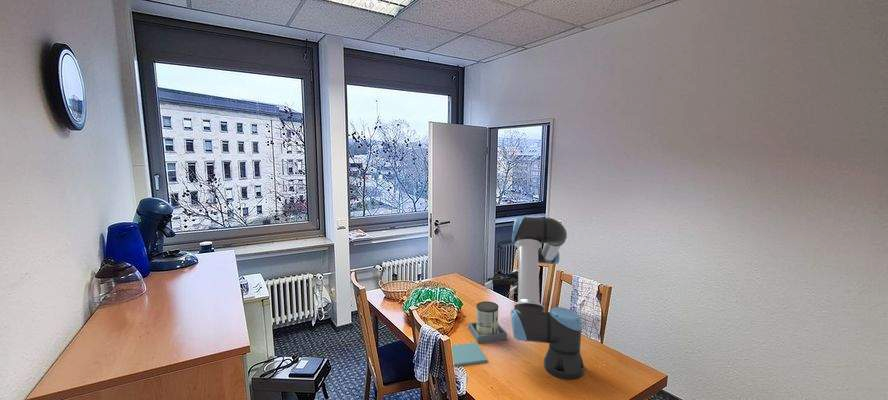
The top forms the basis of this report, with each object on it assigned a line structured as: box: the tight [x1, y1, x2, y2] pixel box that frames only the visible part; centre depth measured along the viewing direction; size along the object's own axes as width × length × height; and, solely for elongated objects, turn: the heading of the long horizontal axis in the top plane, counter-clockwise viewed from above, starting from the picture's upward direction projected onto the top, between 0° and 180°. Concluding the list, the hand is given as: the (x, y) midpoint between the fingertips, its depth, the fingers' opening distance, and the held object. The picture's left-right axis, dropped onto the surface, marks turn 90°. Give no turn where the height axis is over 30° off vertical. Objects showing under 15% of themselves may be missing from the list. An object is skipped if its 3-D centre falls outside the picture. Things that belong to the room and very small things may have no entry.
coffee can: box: [475, 300, 500, 335], centre depth 167 cm, size 10×10×14 cm
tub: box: [467, 321, 508, 344], centre depth 168 cm, size 14×14×3 cm
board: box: [452, 342, 488, 367], centre depth 150 cm, size 14×14×1 cm
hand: (497, 289), depth 174 cm, fingers open, 13 cm apart
